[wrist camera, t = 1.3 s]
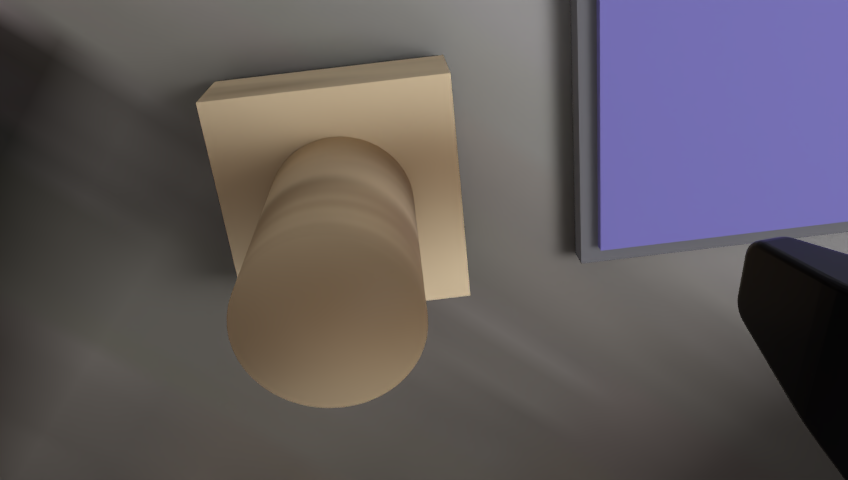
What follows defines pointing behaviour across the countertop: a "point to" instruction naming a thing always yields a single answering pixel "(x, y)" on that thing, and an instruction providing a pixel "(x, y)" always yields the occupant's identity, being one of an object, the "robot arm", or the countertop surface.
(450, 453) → the countertop surface
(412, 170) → the stamp
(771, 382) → the countertop surface
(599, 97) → the ink pad
